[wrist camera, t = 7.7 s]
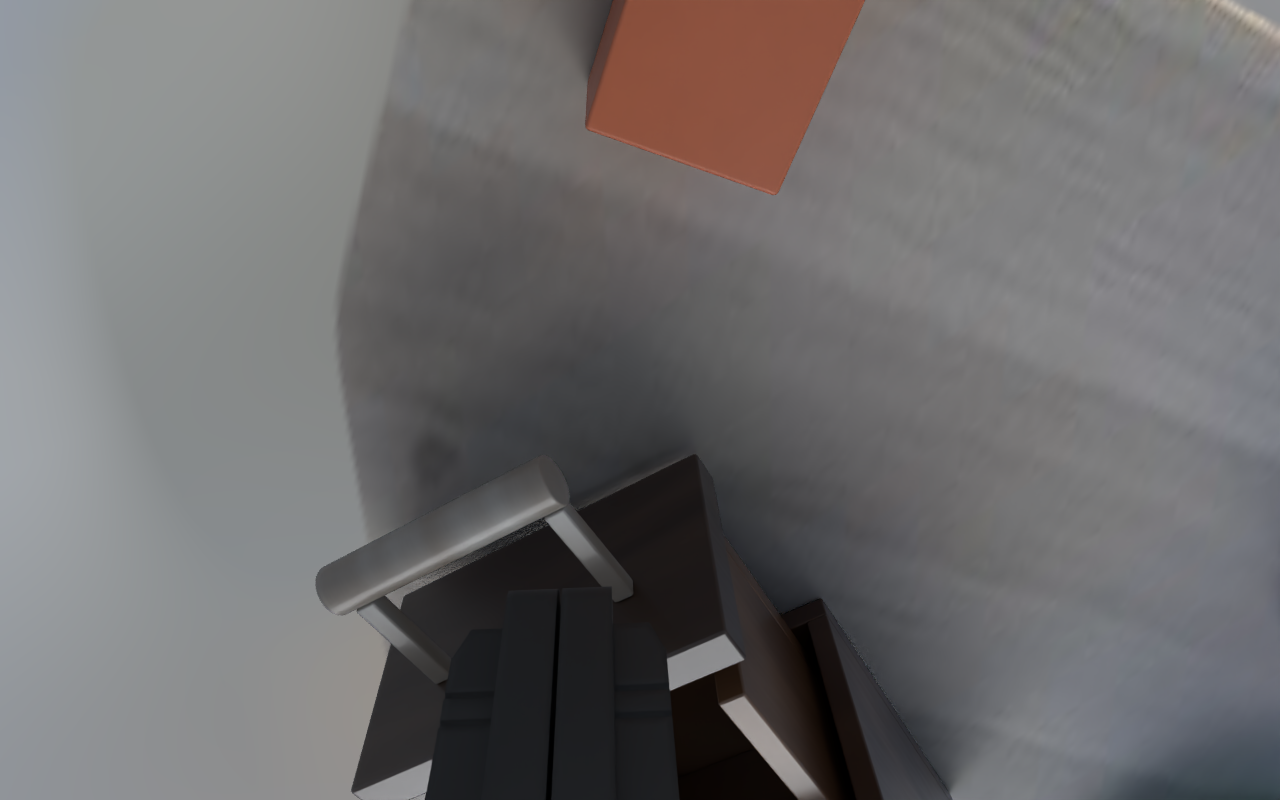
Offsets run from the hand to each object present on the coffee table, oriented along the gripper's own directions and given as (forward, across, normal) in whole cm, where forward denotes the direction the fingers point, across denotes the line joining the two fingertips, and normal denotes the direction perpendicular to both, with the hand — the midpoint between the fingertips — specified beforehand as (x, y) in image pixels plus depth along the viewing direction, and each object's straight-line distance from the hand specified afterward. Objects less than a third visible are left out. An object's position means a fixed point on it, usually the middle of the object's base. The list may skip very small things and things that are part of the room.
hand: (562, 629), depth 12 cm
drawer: (+12, -1, +12) cm, 18 cm away
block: (+13, -3, -6) cm, 15 cm away
